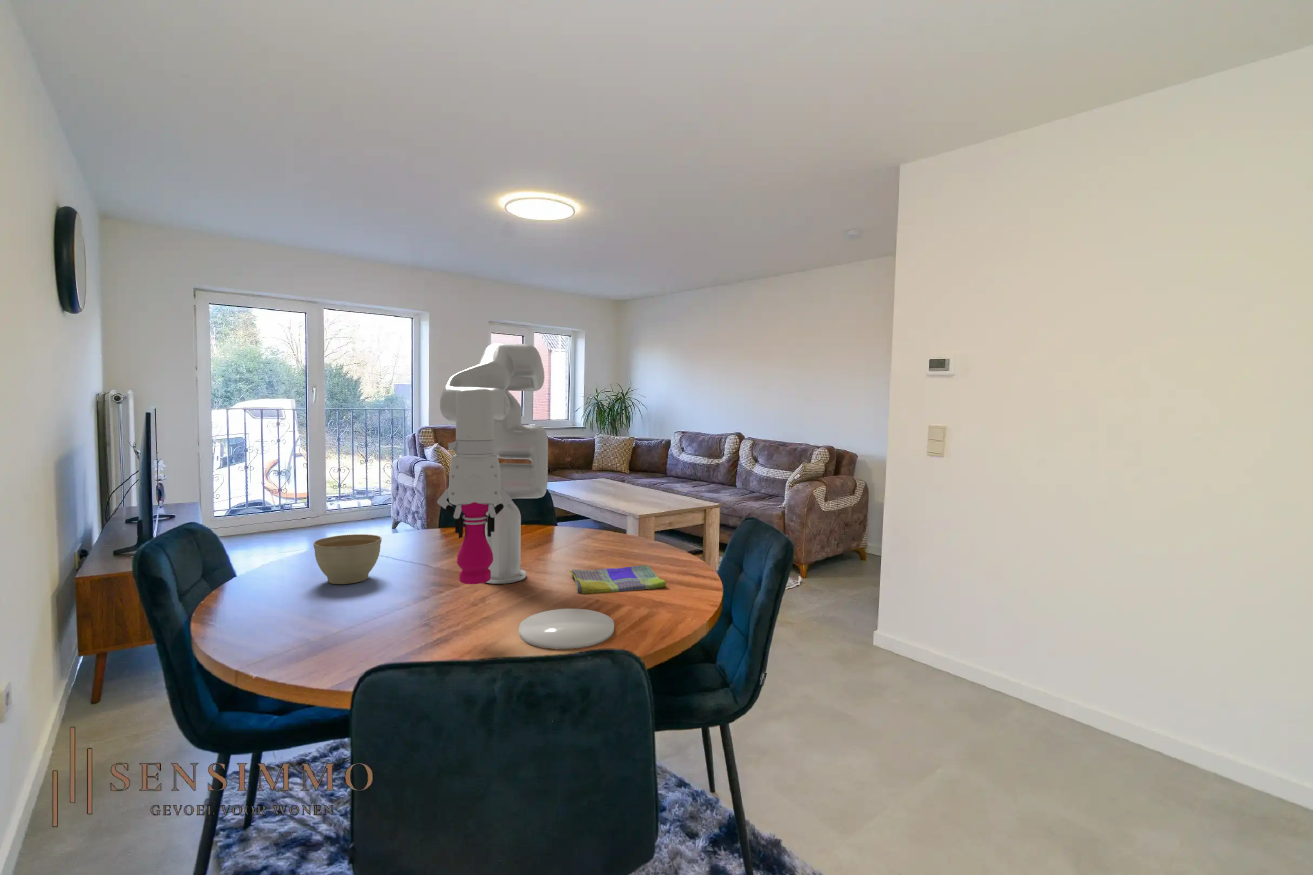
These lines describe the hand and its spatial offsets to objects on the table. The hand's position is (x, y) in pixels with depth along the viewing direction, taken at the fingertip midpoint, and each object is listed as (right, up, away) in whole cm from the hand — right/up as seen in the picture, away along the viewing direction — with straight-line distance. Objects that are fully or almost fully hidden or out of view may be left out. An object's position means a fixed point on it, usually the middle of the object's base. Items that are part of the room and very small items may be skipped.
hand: (475, 534), depth 122 cm
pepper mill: (0, -10, +1) cm, 10 cm away
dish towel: (+27, -20, +39) cm, 51 cm away
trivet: (+19, -21, +4) cm, 28 cm away
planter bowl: (-45, -18, +36) cm, 61 cm away
